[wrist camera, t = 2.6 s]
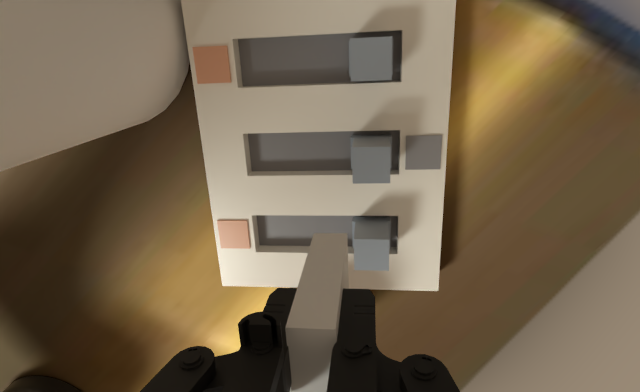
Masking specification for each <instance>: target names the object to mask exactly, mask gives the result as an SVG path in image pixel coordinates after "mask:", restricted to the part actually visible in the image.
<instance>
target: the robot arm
mask: <svg viewBox="0 0 640 392" xmlns="http://www.w3.org/2000/svg"><path fill="white" fill-rule="evenodd" d="M238 328H239V335H240V342H241V347H240V350H239V351H237V352H234V353H231V354H227V355H222V356H217V357H214V353H213V352H212V350H211V349H209V348H207V347H202V346H195V347H190V348H187V349H185V350H183V351H180V352H179V353H178V354H177V355H175V356H174V357H173V358H172V359H171V360H170V361H169V362H168V363H167V364H166V365H165V366H164V367H163V368H162V369H161V370H160V371H159V373H158V374H157V375H156V376H155V377H154V378H153V379H152V380H151V381H150V382H149V383H148V384H147V385H146V386H145V387H144V388H143V389H142V390H141V391H140V392H290V388H291V392H460V391H459V389H458V387H457V386H456V384H455V382H454V380H453V379H452V377H451V375H450V373H449V371H448V370H447V368H446V367H445V366H444V364H443V363H442V362H441V361H439V360H438V359H436V358H434V357H432V356H428V355H425V354H415V355H412V356H408V357H407V358H405V359H404V360H403V361H402V362H398V361H395V360H392V359H390V358H388V357H386V356H385V355H383V354H382V353H381V352H380V351H379V350H378V348H377V346H376V333H375V297H374V295H373V294H372V292H371V291H370V289H349V274H348V239H347V233H314V234H313V238H312V241H311V244H310V248H309V251H308V254H307V257H306V261H305V264H304V267H303V271H302V274H301V277H300V281H299V284H298V287H297V288H277V289H276V290H275V291H274V292H273V293H272V294H270V295H269V298H268V300H267V303H266V306H265V308H264V310H263V312H256V313H253V314H250V315H247V316H246V317H244V318H243V319H242V320H241V321H240V322H239V324H238ZM3 392H81V391H79V390H78V389H76V388H75V387H73V386H71V385H69V384H67V383H65V382H63V381H60V380H57V379H54V378H50V377H45V376H28V377H23V378H20V379H18V380H16V381H14V382H13V383H11V384H10V385H9V386H8V387H7V388H6V389H5V390H4V391H3Z"/></svg>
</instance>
